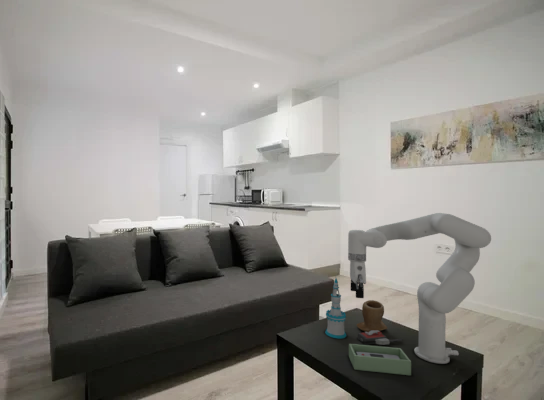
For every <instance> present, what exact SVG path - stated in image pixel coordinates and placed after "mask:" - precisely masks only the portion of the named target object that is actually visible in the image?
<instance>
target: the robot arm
mask: <svg viewBox="0 0 544 400" xmlns="http://www.w3.org/2000/svg"><path fill="white" fill-rule="evenodd" d="M438 234H442V235H445V236H447V237H449V238H451V239H453V240H454V245H455V248H454V250H453V252H452V253H451V255H450V256H449V257H448V258H447V259H446V261H444V262H443V264H442V265H441V266H440V267H439V268H438V269H437V271H436V272H435V276H436V280H437V281H438V282H439V283H440V284H437V283H435V282H432V281H425V282H423V283H421V284H420V285H418V288H417V291H416V298H417V304H418V305H417V306H418V342H417V343H418V345H417V346H416V347H414V349H413V352H414V354H415V355H416V357H418V358H420V359H421V360H424V361H427V362H429V363H433V364H439V365H445V364H448V363H450V362H451V361H450V360H451V358H450V356H455V357H457V356H459V354H460V353H459V351H458V350H453V349H452V348H451V347H446V328H447V327H446V323H447V320H446V319H447V318H446V314H449V313H451V312H453V311H454V310H456V309H457V307H459V306H460V304H461V303H462V302H463V301H464V300H465V299H466V298H467V297H468V296H469V295H470V294H471V293H472V291H473V290H474V287H475V284H476V282H475V277H474V276H473V274H472V273H471V271H472V270H473V269H474V268H475V266H476V265H477V264H478V263H479V260H480V256H481V250H480V249H484V248H485V247H487V246H489V245H490V243H491V241H492V236H491V233H490V232H489V230H487V229H486V228H484V227H482V226H480V225H478V224H475V223H473V222H470V221H467V220H465V219H463V218H460V217H459V216H456V215H454V214H450V213H444V212H443V213H442V212H436V213H435V212H434V213H431V214H427V215H424V216H419V217H416V218H412V219H408V220H404V221H397V222H394V223H388V224H383V225H379V226H376V227H371V228H369V229H367V230H366V231H365V230H362V229H351V230H349V231H348V235H347V236H348V239H347V241H348V243H347V244H348V245H347V246H348V249H347V259H348V261H349V278H350V292H355V298H356V299H364V298H365V287H364V286H365V285H366V284H367V273H366V272H367V271H366V262H367V248H375V249H380V248H383V247H385V246H386V245H387V243H388V242H390V241H396V240H397V241H398V240H403V241H404V240H405V241H411V240H413V241H414V240H417V239H421V238H425V237H429V236H434V235H438Z"/></svg>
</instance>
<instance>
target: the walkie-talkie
mask: <svg viewBox="0 0 544 400" xmlns="http://www.w3.org/2000/svg"><path fill="white" fill-rule="evenodd" d="M357 340H358V341H360V342H361V343H362V344H363V345H379V346H382V345H390V344H391V343H397V342H402V341H404V339H403V338H394V339H388V338H387V336H386V335H385V334H384V333H382V331H378V330H371V331H370V332H365V331H364V332H358V333H357Z"/></svg>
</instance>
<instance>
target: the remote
mask: <svg viewBox="0 0 544 400" xmlns="http://www.w3.org/2000/svg"><path fill="white" fill-rule="evenodd" d="M356 355H361V356H371V357H381V358H392V359H400V358H399V357H398V356H397V355H388V354H378V353H367V352H356Z"/></svg>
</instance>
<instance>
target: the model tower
mask: <svg viewBox="0 0 544 400" xmlns="http://www.w3.org/2000/svg"><path fill="white" fill-rule="evenodd" d="M333 282H334V283H333V286H332V288H333V290H332V293H331V294H330V296H331V297H330V300H331V306H330V309H327V310H326V311H325V316H326V317H325V318H326V319H327V325H326V326H327V328H326V329H325V331H324V333H325V335H326V336H328V337H330V338H333V339H345V338H347V333H346V331H345V321H346V319H347V316H346V315H347V314H346V313H345V311H343V310H342V307H341V301H342V299H341V297H342V295H341V294H340V290H339V289H340V287H339V282H338V279H337V274H335V279H334V281H333Z"/></svg>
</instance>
